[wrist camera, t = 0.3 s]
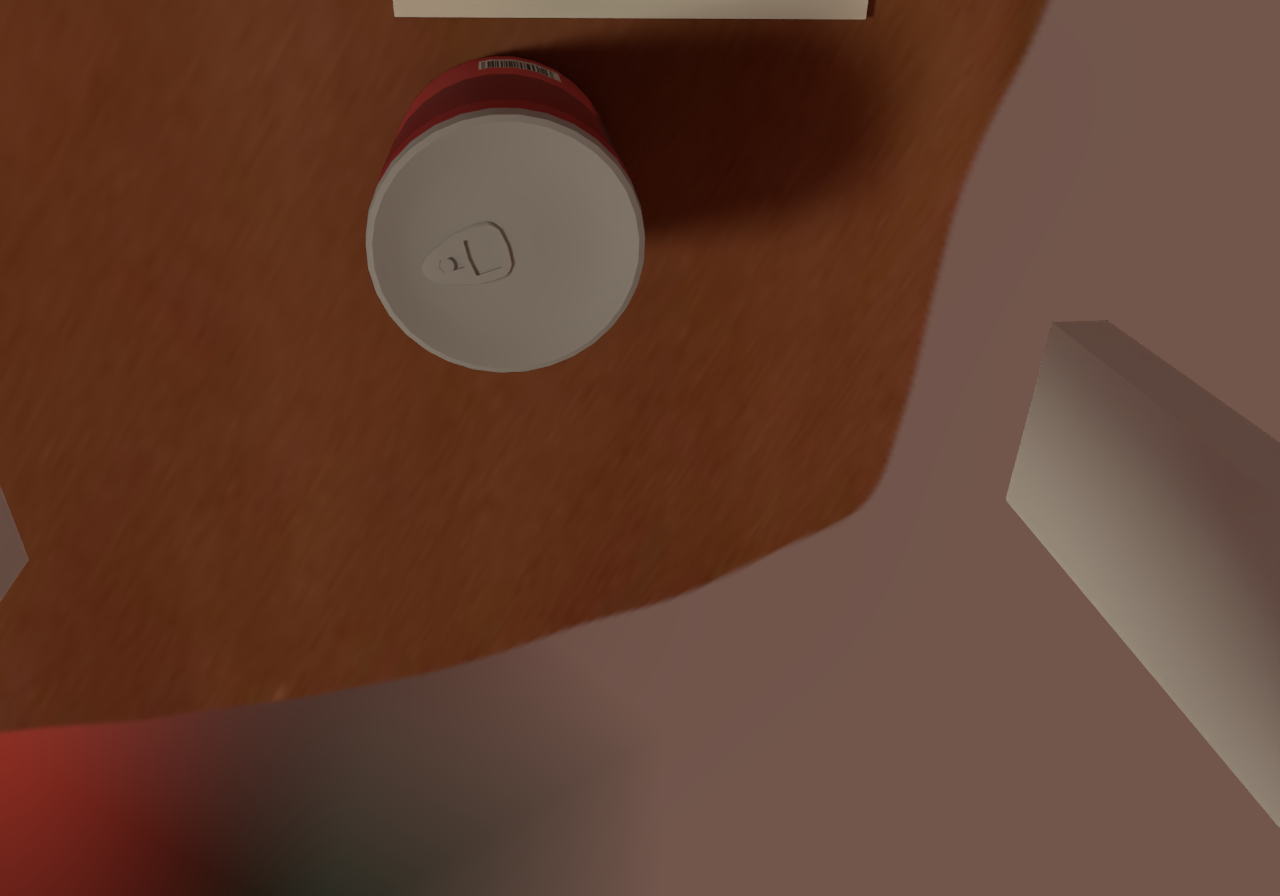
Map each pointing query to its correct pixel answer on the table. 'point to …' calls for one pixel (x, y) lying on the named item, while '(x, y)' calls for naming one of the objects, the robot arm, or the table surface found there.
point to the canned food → (504, 219)
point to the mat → (635, 9)
